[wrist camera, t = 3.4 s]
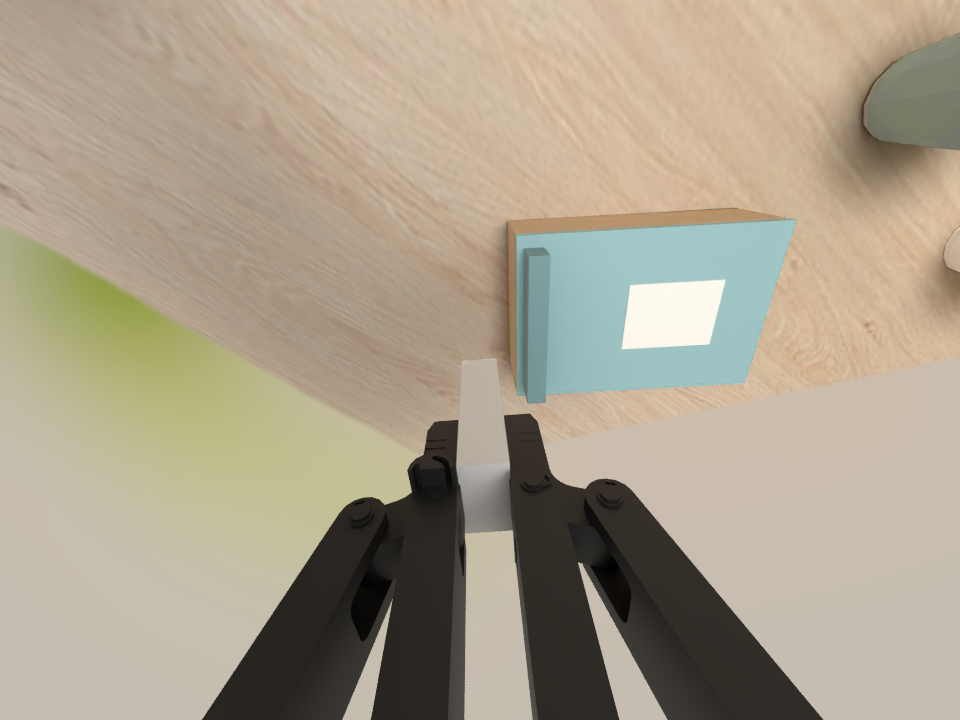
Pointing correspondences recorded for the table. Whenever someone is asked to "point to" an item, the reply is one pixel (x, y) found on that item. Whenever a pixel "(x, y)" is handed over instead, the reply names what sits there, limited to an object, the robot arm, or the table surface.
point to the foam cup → (953, 251)
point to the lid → (643, 305)
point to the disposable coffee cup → (918, 98)
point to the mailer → (608, 223)
